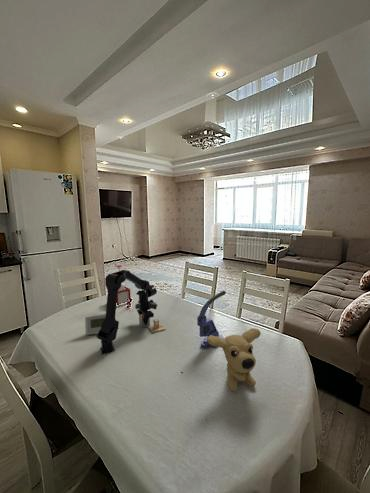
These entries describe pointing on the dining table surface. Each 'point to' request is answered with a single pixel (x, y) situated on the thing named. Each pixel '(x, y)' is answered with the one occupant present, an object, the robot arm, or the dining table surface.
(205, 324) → the hand press
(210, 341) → the toy
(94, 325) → the digital clock
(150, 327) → the tan piece
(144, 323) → the grey-topped salmon cube
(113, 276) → the robot arm
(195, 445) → the dining table surface
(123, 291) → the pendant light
